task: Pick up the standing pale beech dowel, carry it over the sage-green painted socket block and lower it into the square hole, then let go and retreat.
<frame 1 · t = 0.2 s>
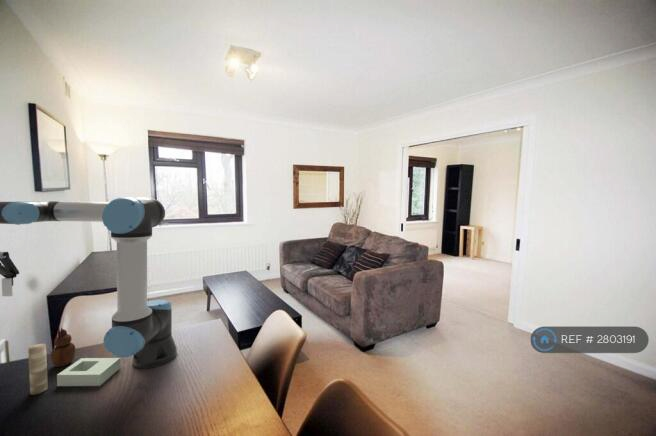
wooden figurine: (63, 364, 107), on the table
dowel: (39, 390, 92), on the table
socket block: (90, 376, 100), on the table
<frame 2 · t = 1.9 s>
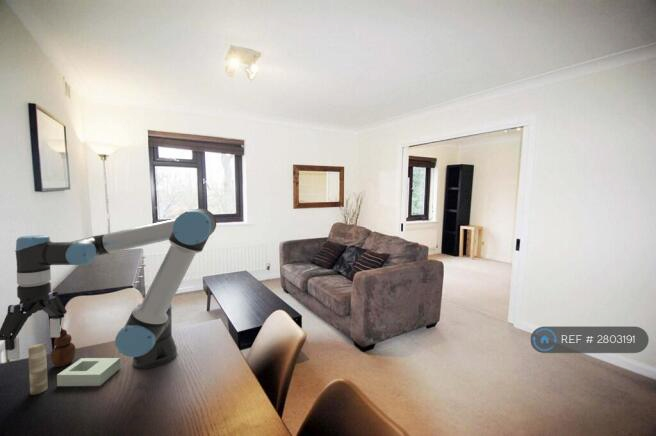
hand: (36, 347, 91), 15 cm above the table, fingers open, 13 cm apart
nothing on the table moved.
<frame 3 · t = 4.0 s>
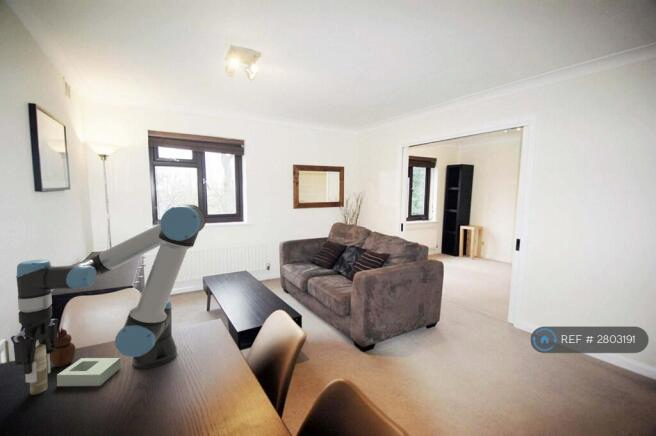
hand: (38, 376, 92), 5 cm above the table, fingers closed on dowel, 4 cm apart
dowel: (39, 390, 92), on the table, touching gripper
everything else where it was.
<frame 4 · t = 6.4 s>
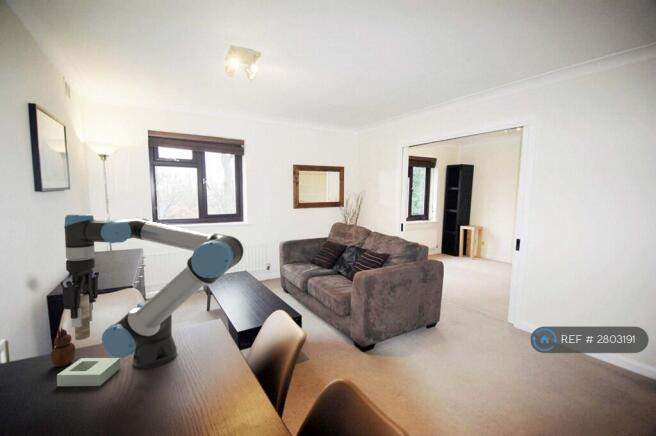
hand: (82, 323, 98), 20 cm above the table, fingers closed on dowel, 4 cm apart
dowel: (82, 337, 99), point 15 cm above the table, touching gripper
everything else where it was.
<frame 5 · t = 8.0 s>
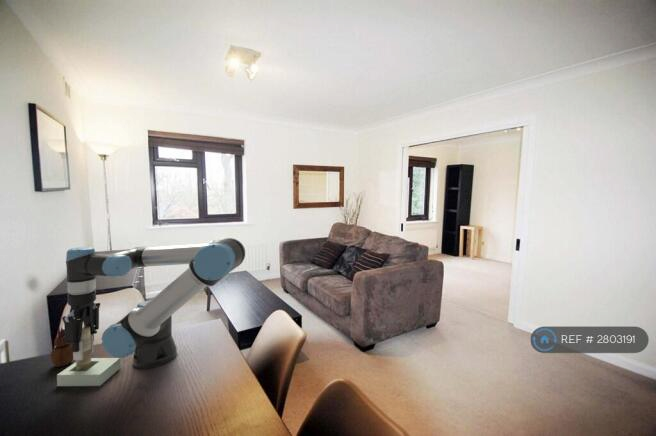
hand: (83, 355, 99), 8 cm above the table, fingers closed on dowel, 4 cm apart
dowel: (84, 369, 100), point 3 cm above the table, touching gripper
everything else where it was.
when the fingers open (6 cm above the table, at t = 9.3 s): dowel stays where it is, resting in socket block.
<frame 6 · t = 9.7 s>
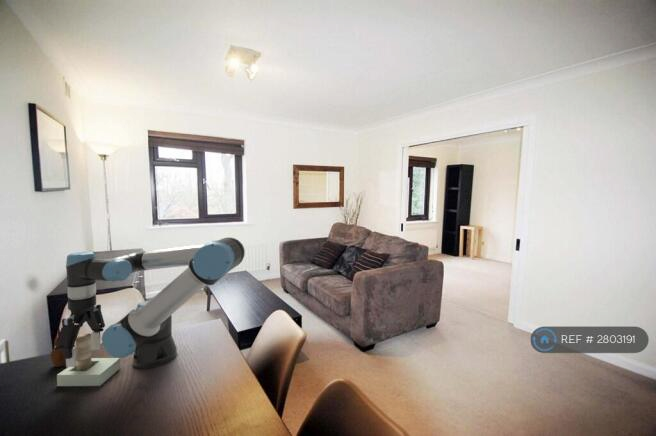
hand: (84, 357, 99), 7 cm above the table, fingers open, 10 cm apart
dowel: (84, 376, 100), resting in socket block
everything else where it was.
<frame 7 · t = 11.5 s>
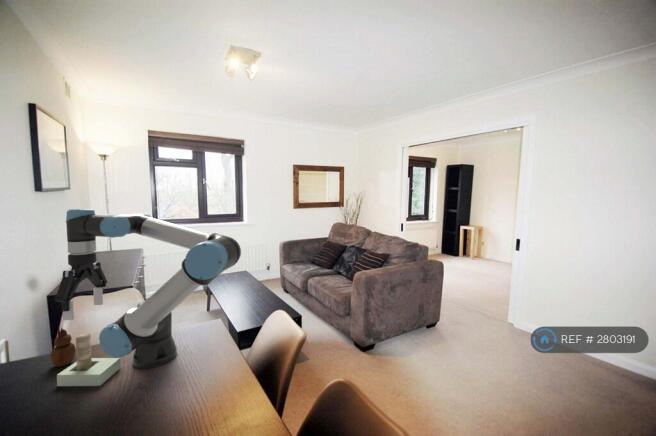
hand: (84, 311, 99), 23 cm above the table, fingers open, 13 cm apart
nothing on the table moved.
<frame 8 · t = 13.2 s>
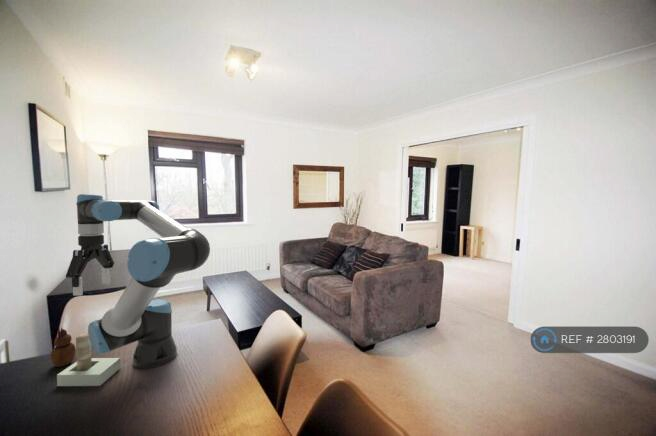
hand: (92, 289, 108), 29 cm above the table, fingers open, 13 cm apart
nothing on the table moved.
at the end: dowel 0.0 cm from the target spot on the socket block, point 0.0 cm above the socket block's base; dowel tilted 0°; the gripper is holding nothing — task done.
